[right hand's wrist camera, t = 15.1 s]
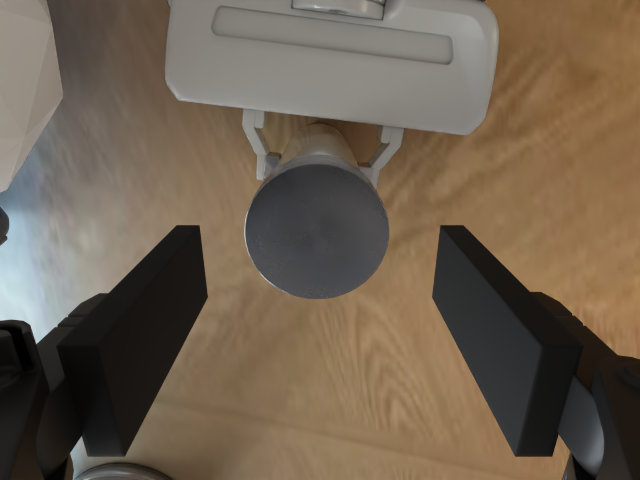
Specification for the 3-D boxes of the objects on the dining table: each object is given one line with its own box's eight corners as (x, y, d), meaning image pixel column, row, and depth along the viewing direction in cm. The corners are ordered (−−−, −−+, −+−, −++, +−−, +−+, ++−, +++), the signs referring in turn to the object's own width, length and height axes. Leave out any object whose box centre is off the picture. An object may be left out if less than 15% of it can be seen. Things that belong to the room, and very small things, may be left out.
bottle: (276, 173, 35) (233, 262, 17) (300, 112, 33) (280, 144, 15) (334, 197, 36) (348, 307, 18) (360, 139, 34) (405, 199, 16)
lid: (234, 250, 19) (224, 269, 17) (280, 131, 17) (275, 138, 15) (348, 294, 20) (351, 317, 18) (404, 186, 18) (415, 199, 16)
